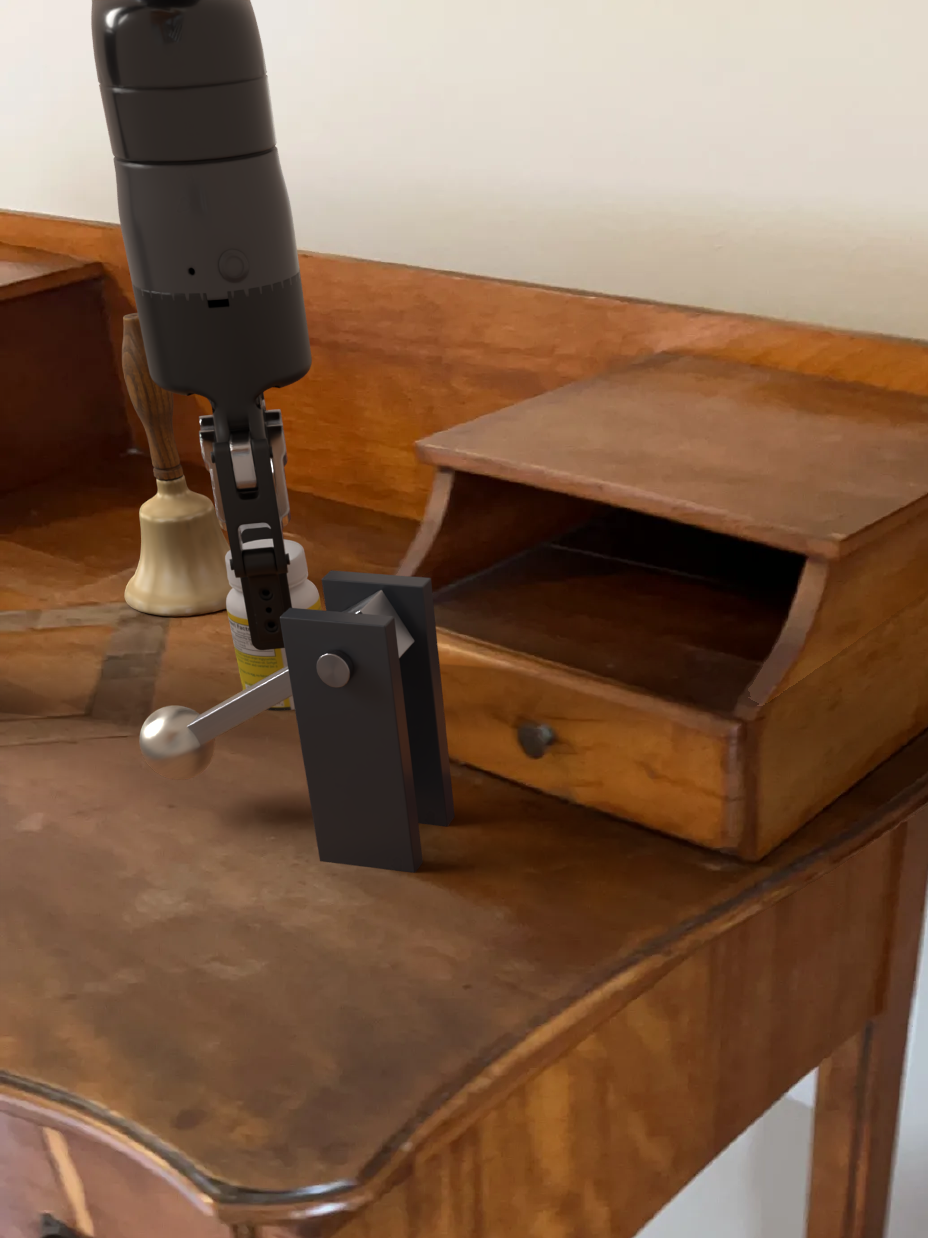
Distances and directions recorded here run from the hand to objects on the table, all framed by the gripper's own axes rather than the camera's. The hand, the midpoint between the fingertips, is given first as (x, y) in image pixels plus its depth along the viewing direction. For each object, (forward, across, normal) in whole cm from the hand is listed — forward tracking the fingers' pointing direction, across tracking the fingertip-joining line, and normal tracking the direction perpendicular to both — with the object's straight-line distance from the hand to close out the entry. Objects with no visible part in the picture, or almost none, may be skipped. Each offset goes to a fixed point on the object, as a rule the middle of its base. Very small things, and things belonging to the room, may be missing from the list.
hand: (272, 613), depth 79 cm
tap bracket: (+5, +19, +4) cm, 20 cm away
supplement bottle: (+5, 0, 0) cm, 5 cm away
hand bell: (+5, -18, -5) cm, 20 cm away
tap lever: (-2, +17, 0) cm, 17 cm away
